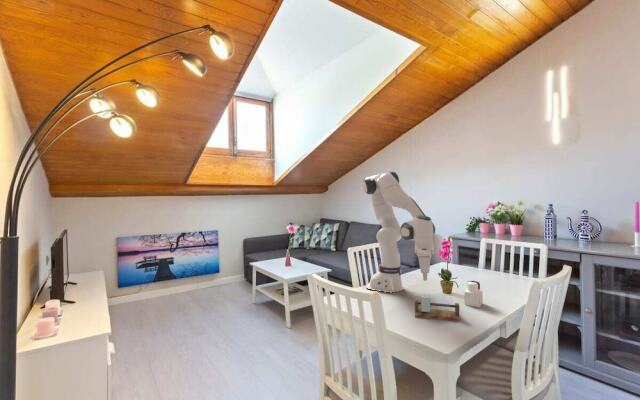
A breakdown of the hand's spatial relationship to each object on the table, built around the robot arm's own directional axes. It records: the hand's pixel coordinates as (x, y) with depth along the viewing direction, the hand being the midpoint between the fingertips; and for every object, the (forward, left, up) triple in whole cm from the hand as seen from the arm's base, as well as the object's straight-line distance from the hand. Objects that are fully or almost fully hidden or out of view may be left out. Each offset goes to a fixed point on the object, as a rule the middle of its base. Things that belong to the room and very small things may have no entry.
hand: (425, 277), depth 151 cm
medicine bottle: (+24, +20, -19) cm, 37 cm away
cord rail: (+5, 0, -19) cm, 19 cm away
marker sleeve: (0, 0, -16) cm, 16 cm away
